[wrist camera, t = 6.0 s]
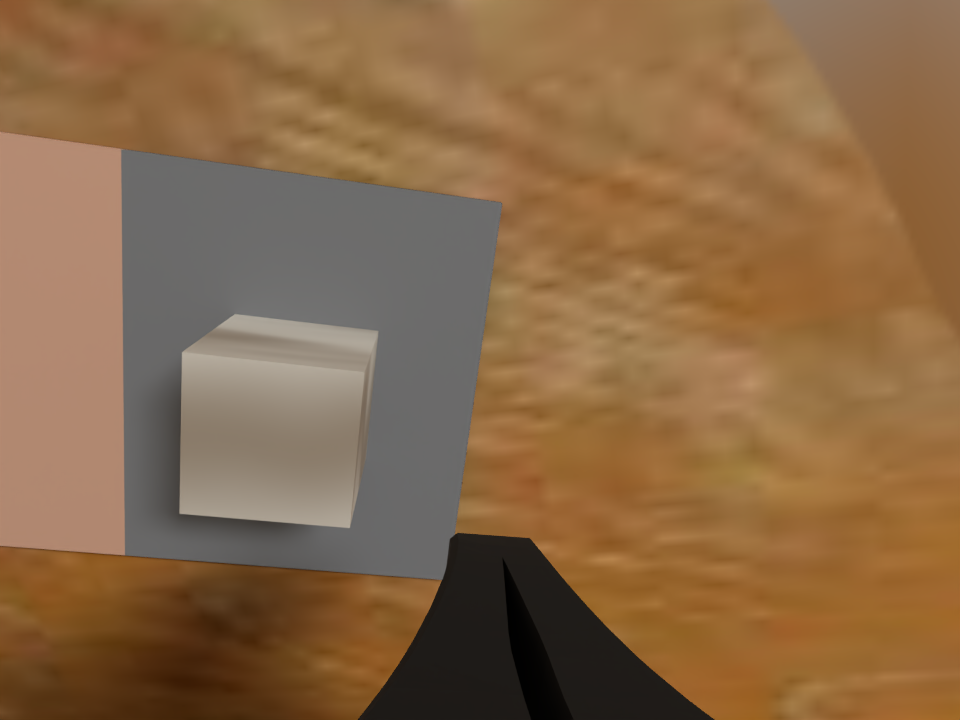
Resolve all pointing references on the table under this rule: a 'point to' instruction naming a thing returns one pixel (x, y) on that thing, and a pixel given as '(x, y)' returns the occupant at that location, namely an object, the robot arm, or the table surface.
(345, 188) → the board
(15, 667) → the table surface
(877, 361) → the table surface
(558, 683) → the robot arm
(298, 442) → the cream block
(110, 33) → the table surface
